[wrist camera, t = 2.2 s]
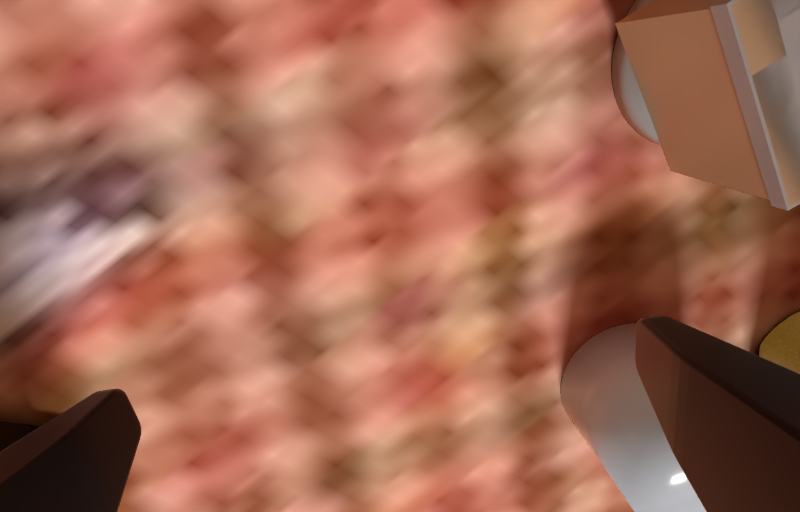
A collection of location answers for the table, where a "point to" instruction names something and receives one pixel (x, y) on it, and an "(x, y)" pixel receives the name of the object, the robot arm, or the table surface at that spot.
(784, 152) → the press carafe
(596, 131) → the table surface
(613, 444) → the grey rounded cylinder
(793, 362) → the plant pot
